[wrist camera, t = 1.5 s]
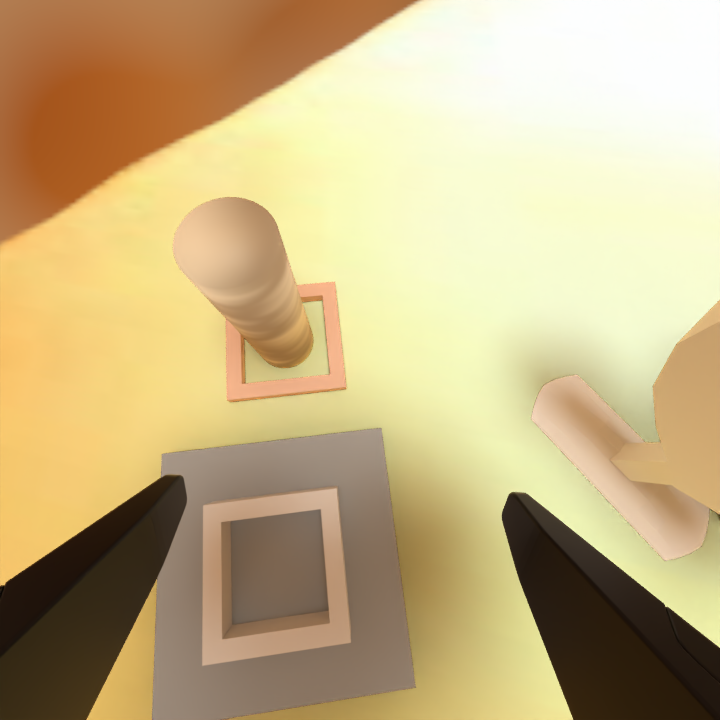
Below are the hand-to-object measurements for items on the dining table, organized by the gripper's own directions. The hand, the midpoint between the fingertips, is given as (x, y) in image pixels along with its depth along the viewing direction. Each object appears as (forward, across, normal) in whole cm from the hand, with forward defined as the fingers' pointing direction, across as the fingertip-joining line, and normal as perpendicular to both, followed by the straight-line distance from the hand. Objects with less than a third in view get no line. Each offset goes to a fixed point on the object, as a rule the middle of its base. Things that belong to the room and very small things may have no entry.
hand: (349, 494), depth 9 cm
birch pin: (+16, +5, +2) cm, 17 cm away
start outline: (+16, +5, +2) cm, 17 cm away
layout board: (+7, +3, +13) cm, 15 cm away
